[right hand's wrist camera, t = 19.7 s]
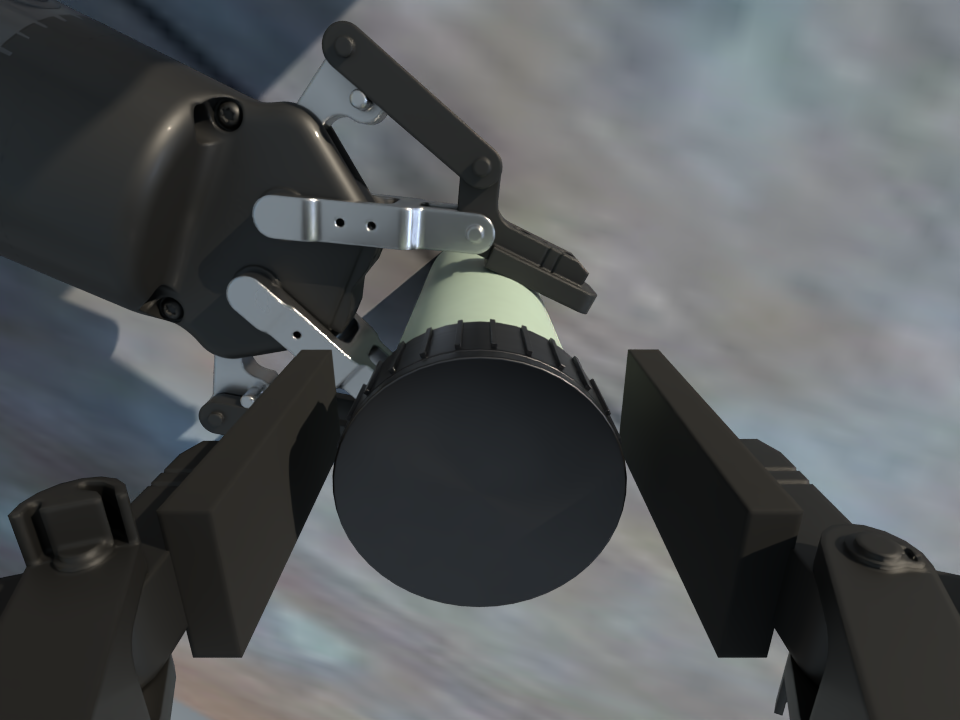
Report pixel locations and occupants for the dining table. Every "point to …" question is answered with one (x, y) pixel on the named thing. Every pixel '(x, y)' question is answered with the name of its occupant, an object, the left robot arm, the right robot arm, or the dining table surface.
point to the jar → (475, 298)
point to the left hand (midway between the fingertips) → (546, 367)
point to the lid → (479, 466)
